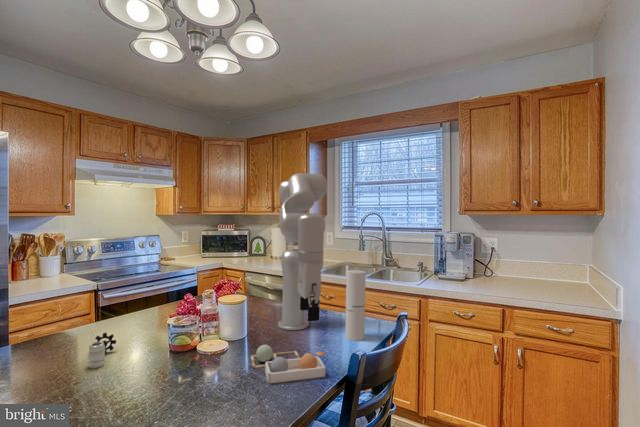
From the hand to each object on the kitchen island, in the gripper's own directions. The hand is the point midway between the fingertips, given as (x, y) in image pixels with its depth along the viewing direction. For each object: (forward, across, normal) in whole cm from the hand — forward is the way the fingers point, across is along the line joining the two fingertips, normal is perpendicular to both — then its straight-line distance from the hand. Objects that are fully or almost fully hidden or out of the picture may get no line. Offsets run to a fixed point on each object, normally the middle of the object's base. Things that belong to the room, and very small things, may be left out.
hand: (309, 315), depth 97 cm
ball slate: (+16, +1, -9) cm, 19 cm away
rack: (+17, -9, -8) cm, 21 cm away
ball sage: (+17, -9, -12) cm, 23 cm away
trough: (+17, +1, -4) cm, 17 cm away
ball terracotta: (+16, 0, 0) cm, 17 cm away
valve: (+18, -23, -61) cm, 67 cm away
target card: (+17, -10, +5) cm, 21 cm away
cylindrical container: (+18, -22, +24) cm, 37 cm away
